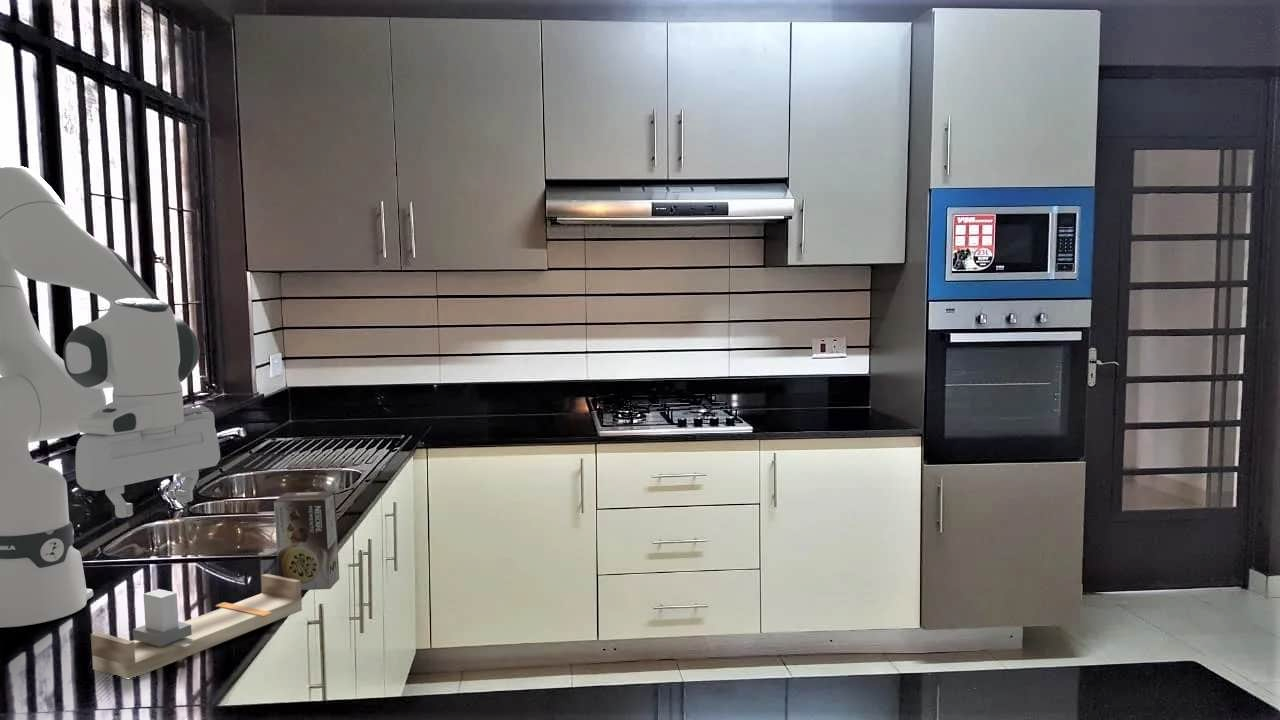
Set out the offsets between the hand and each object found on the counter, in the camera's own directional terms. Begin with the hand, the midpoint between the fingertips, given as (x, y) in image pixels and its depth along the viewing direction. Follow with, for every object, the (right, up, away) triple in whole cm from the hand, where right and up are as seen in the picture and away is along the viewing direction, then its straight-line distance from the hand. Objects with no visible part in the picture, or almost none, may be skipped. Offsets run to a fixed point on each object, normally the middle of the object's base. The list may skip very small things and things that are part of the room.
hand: (155, 509), depth 137 cm
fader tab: (0, -19, +2) cm, 19 cm away
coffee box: (+11, -19, +32) cm, 39 cm away
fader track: (+3, -21, +8) cm, 23 cm away
